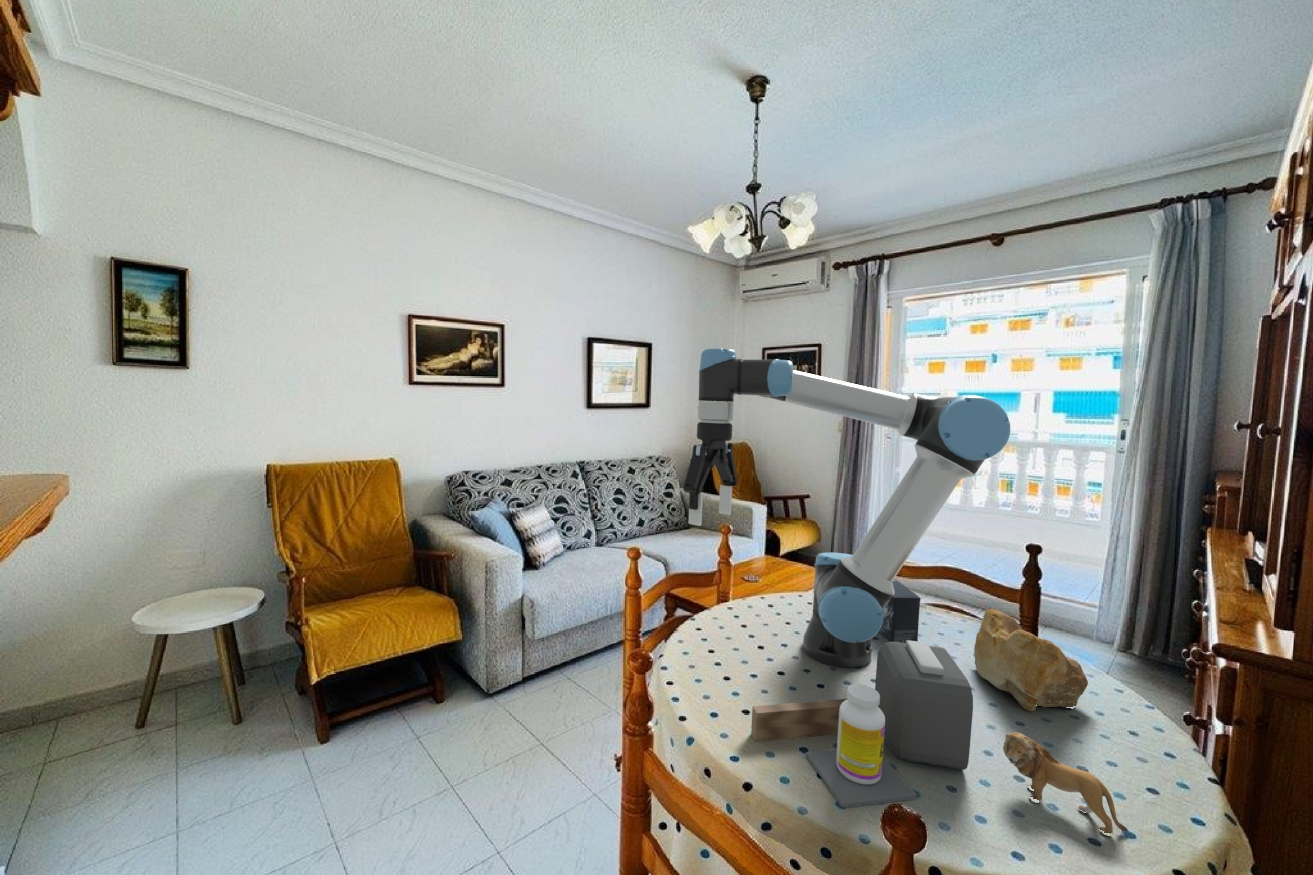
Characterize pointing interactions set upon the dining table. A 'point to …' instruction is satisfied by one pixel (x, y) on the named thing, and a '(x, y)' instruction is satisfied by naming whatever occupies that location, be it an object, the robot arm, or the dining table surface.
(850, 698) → the supplement bottle
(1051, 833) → the dining table surface
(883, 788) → the rubber mat
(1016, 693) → the rough brown rock
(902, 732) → the alarm clock
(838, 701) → the walnut rail
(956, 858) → the dining table surface
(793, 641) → the dining table surface
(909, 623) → the small box
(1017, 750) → the lion figurine
